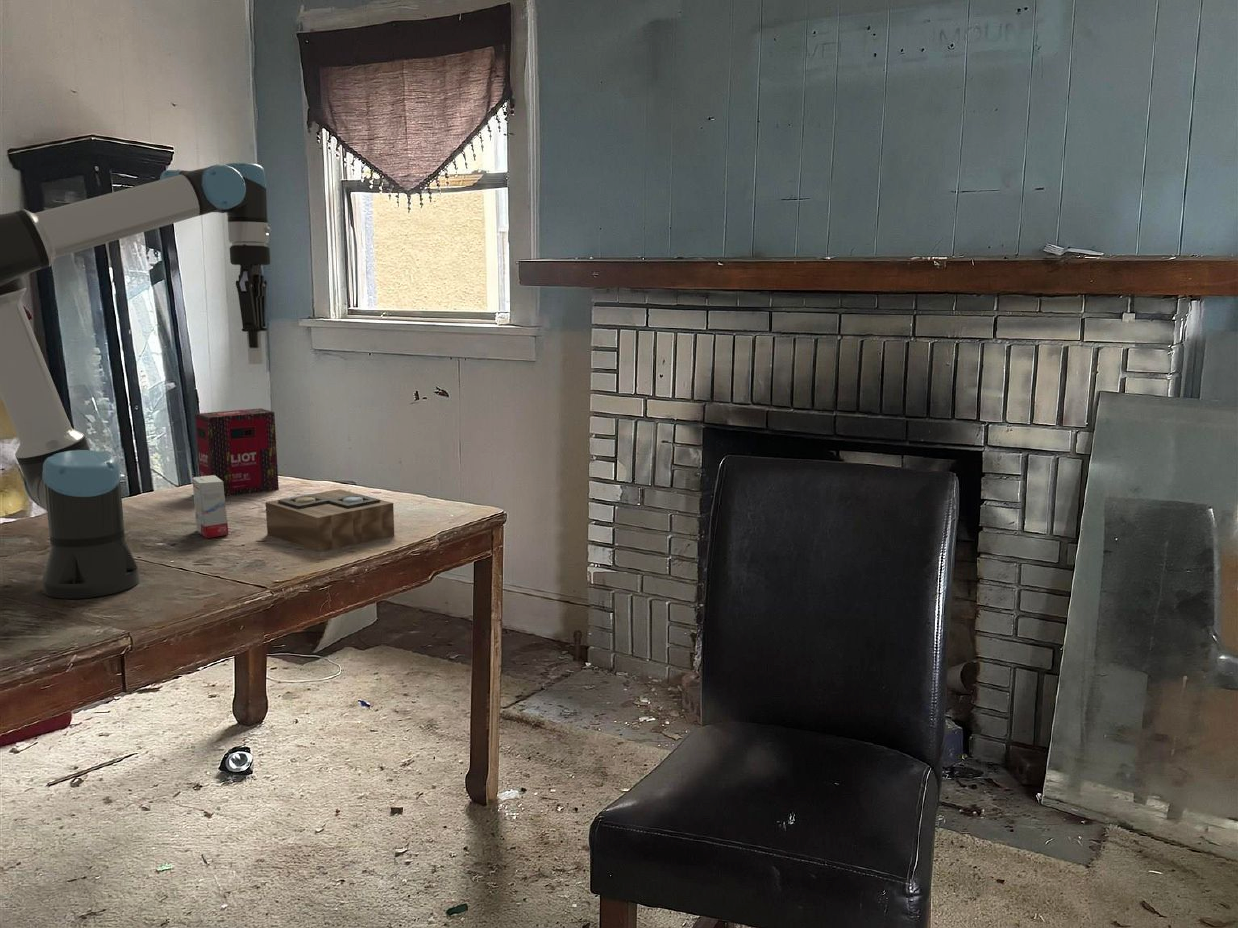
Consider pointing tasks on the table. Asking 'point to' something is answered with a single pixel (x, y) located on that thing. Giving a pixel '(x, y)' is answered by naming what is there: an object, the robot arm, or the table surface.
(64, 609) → the table surface
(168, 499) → the table surface
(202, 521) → the ink box
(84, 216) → the robot arm
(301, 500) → the birch peg rear
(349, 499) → the slate peg front
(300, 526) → the walnut block
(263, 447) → the box
